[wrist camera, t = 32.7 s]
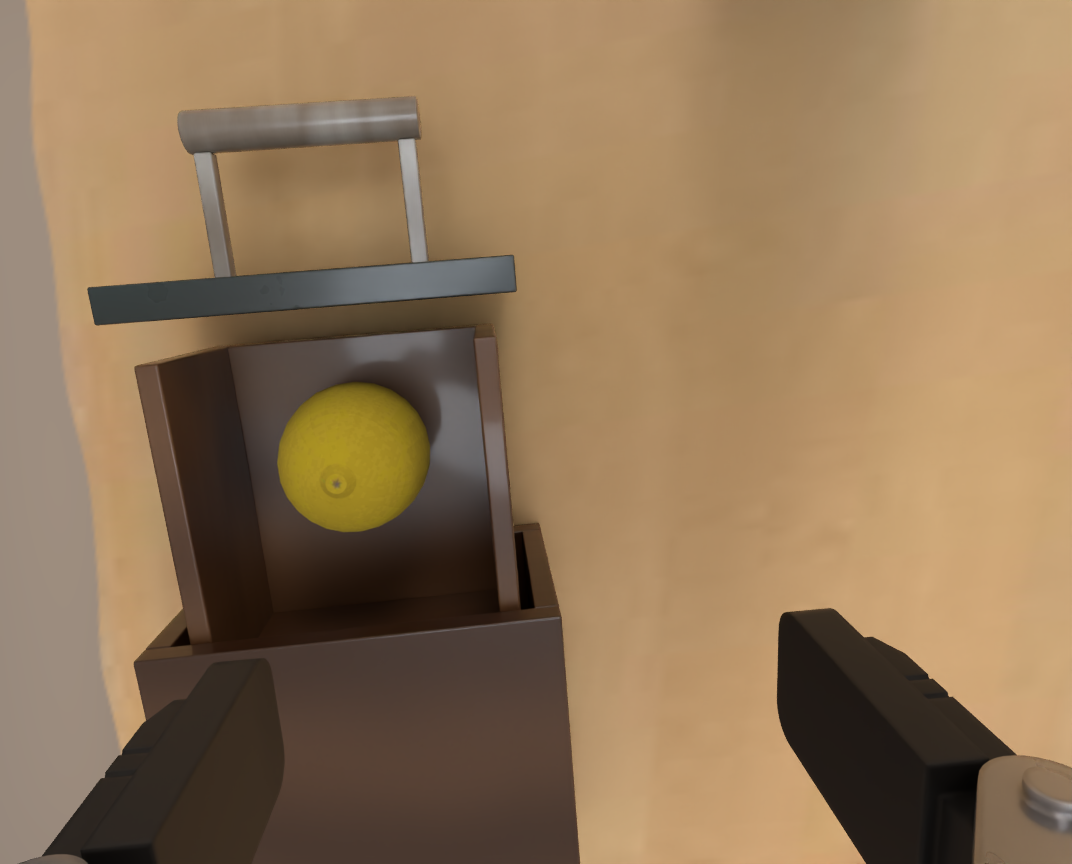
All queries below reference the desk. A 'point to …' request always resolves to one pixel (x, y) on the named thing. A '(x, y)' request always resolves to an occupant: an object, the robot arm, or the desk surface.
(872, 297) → the desk surface
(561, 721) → the cabinet
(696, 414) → the desk surface
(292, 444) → the lemon
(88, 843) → the robot arm
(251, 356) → the drawer
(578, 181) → the desk surface
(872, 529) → the desk surface
